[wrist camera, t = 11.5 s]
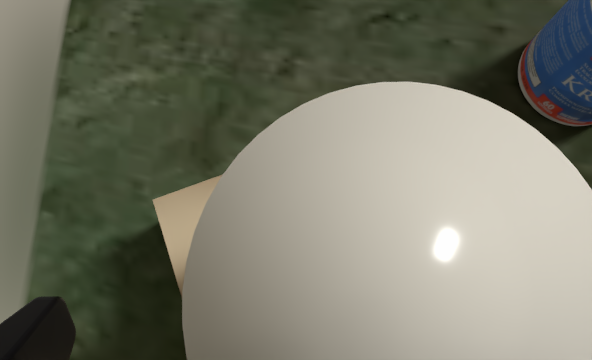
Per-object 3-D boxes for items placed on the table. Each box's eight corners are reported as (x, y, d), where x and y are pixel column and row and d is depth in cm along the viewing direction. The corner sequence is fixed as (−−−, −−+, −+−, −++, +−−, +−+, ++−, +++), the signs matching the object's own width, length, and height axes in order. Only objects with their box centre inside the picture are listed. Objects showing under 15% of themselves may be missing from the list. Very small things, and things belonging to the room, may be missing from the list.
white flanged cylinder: (422, 306, 18) (790, 412, 5) (277, 390, 17) (299, 761, 4) (342, 163, 19) (494, -42, 6) (200, 238, 18) (32, 181, 5)
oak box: (447, 341, 21) (478, 352, 18) (242, 421, 21) (227, 451, 17) (365, 147, 24) (376, 119, 20) (178, 214, 23) (152, 199, 19)
